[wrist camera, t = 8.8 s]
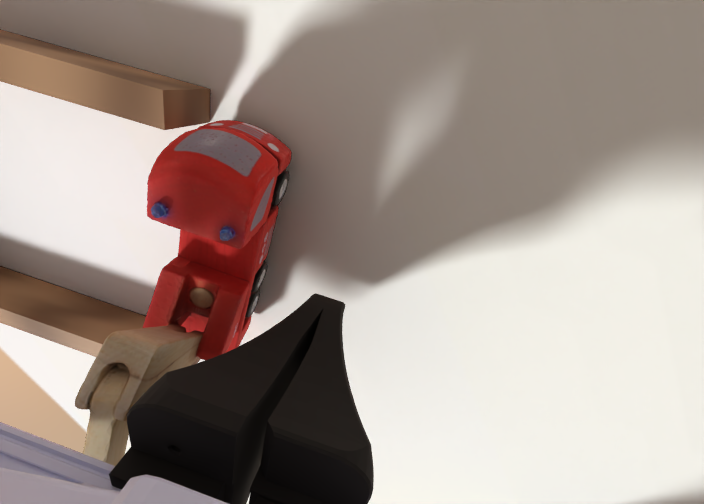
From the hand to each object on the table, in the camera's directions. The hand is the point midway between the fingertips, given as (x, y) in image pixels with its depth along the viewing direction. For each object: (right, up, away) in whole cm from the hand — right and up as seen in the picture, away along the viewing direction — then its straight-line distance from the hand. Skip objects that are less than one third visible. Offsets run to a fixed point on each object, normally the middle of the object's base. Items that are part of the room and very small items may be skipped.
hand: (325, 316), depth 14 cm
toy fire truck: (-5, +2, +2) cm, 6 cm away
